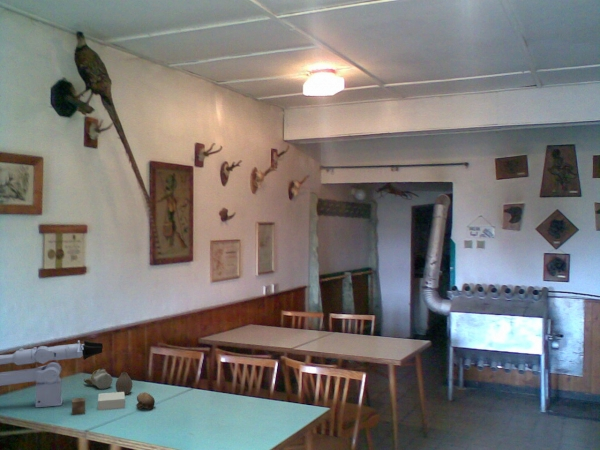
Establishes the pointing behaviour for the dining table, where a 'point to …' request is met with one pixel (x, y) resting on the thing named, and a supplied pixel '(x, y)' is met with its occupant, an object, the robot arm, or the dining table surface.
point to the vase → (124, 383)
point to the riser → (111, 401)
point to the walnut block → (78, 406)
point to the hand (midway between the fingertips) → (102, 347)
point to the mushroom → (145, 401)
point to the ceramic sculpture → (100, 379)
